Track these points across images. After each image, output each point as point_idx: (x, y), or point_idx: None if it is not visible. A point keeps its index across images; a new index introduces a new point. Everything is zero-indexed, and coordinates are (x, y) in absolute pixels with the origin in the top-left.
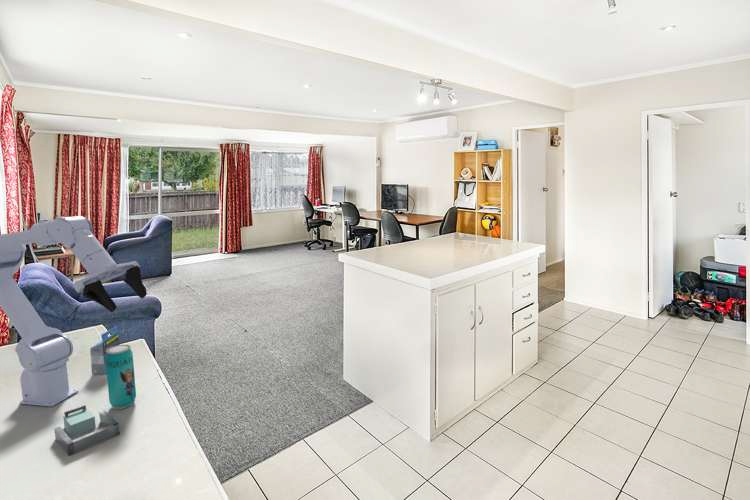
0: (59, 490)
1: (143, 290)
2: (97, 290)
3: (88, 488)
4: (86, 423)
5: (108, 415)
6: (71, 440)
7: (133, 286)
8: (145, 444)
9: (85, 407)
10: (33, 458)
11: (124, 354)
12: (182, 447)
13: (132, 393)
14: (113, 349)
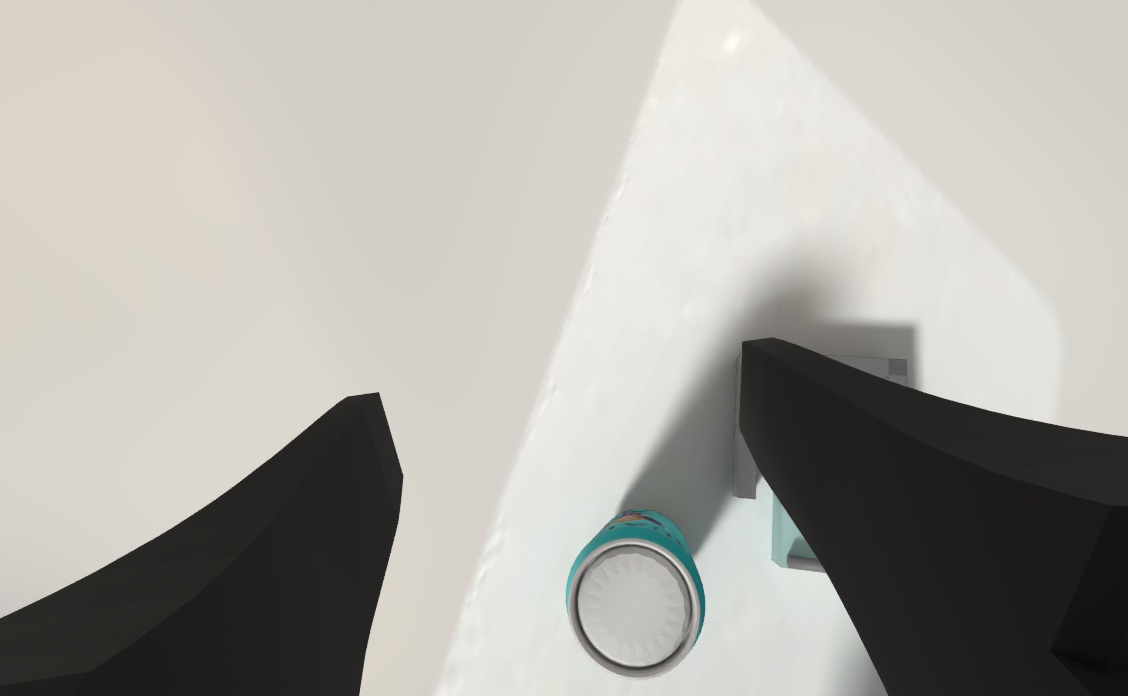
0: (953, 221)
1: (346, 412)
2: (1076, 433)
3: (896, 173)
4: None
5: (744, 440)
6: (889, 376)
7: (345, 635)
8: (712, 243)
9: (790, 555)
10: None
11: (630, 532)
12: (655, 152)
13: (620, 514)
14: (658, 617)
